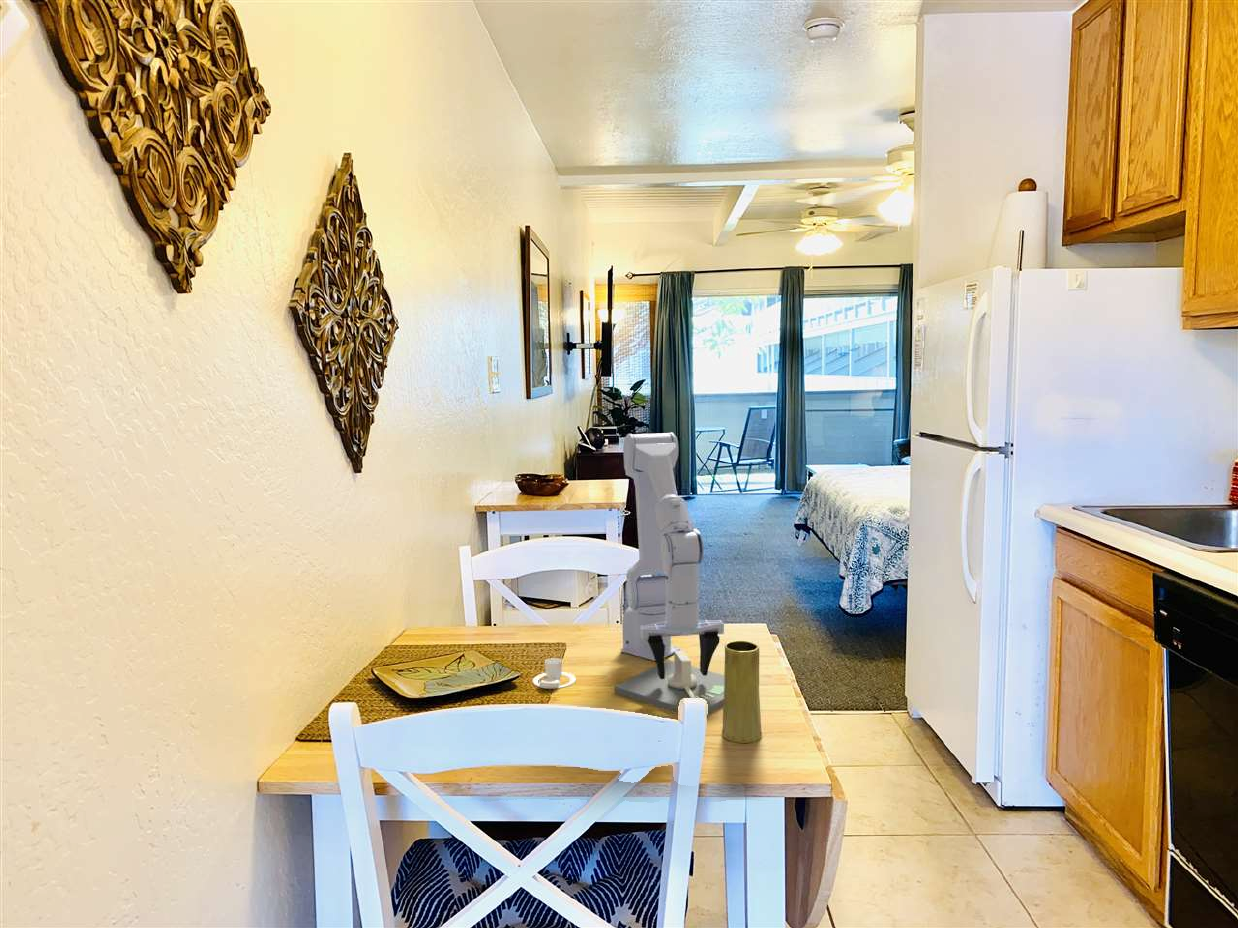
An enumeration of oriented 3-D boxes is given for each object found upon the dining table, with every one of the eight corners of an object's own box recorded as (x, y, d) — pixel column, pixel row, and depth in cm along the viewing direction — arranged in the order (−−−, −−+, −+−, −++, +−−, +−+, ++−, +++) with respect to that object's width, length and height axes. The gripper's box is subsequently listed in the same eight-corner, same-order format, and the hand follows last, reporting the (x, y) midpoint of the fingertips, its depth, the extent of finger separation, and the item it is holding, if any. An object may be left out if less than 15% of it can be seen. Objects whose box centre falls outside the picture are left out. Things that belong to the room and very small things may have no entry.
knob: (665, 678, 142) (665, 651, 142) (692, 676, 143) (692, 649, 143) (679, 703, 132) (679, 674, 131) (709, 700, 133) (708, 671, 132)
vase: (752, 747, 119) (752, 655, 117) (715, 737, 122) (714, 648, 121) (767, 731, 124) (768, 643, 122) (731, 722, 127) (731, 636, 126)
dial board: (614, 692, 140) (614, 685, 140) (669, 666, 152) (669, 659, 152) (698, 720, 128) (698, 712, 128) (750, 689, 140) (750, 682, 140)
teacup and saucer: (553, 696, 140) (552, 673, 140) (520, 685, 145) (519, 664, 144) (584, 680, 147) (584, 659, 147) (552, 670, 152) (552, 650, 151)
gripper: (645, 609, 133) (646, 687, 135) (729, 603, 136) (729, 680, 137) (637, 597, 140) (638, 671, 142) (717, 592, 142) (717, 665, 144)
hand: (682, 675), depth 140 cm, fingers open, 7 cm apart
